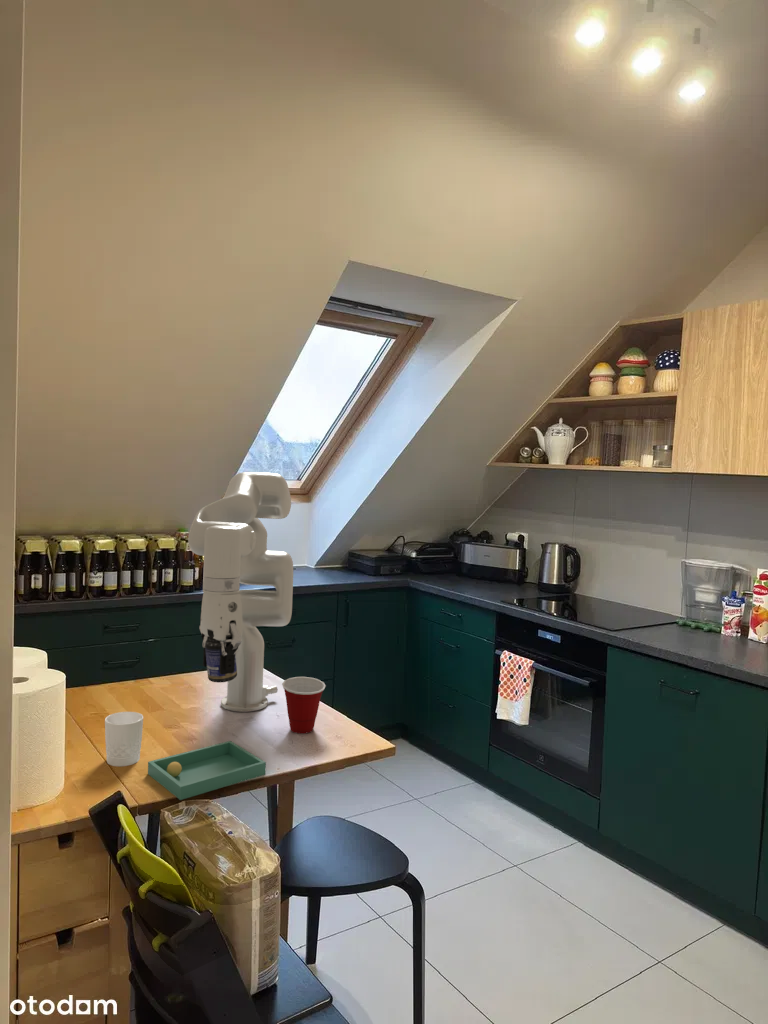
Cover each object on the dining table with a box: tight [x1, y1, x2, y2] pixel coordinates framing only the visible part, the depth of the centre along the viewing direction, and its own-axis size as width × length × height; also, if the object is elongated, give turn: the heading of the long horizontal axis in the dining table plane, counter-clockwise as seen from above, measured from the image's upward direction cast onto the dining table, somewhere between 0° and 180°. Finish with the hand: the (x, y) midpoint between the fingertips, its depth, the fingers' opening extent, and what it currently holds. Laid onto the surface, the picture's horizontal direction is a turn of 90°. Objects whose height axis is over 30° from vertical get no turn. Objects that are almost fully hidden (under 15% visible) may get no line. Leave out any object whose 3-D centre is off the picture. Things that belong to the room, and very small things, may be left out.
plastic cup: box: [281, 676, 326, 735], centre depth 183 cm, size 11×11×12 cm
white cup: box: [104, 711, 144, 767], centre depth 159 cm, size 8×8×10 cm
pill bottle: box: [204, 629, 237, 683], centre depth 154 cm, size 6×6×11 cm
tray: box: [147, 740, 267, 801], centre depth 154 cm, size 20×15×3 cm
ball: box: [167, 762, 182, 777], centre depth 152 cm, size 3×3×3 cm
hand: (218, 668), depth 154 cm, fingers closed on pill bottle, 6 cm apart
